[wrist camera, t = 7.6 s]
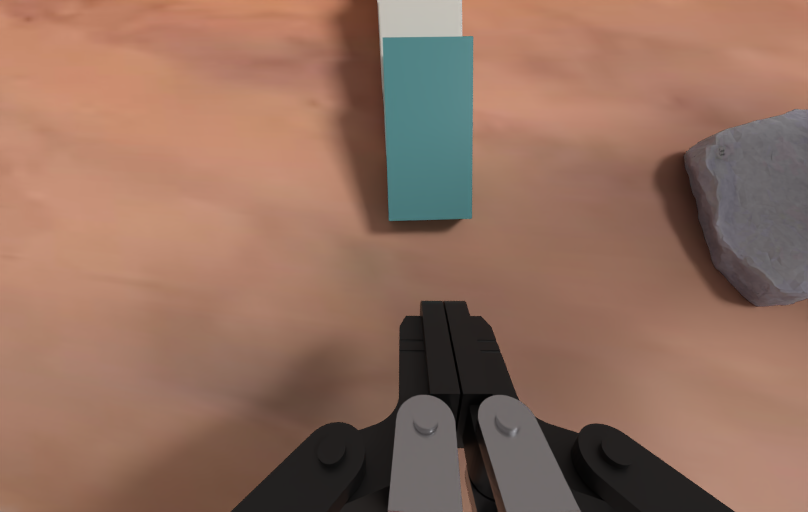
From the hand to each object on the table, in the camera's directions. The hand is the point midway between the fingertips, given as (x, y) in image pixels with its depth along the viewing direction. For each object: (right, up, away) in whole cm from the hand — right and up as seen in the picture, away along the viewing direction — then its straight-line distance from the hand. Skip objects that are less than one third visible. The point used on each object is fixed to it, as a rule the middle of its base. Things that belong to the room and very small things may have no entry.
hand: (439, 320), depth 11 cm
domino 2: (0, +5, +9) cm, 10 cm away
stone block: (+23, +5, +10) cm, 25 cm away
